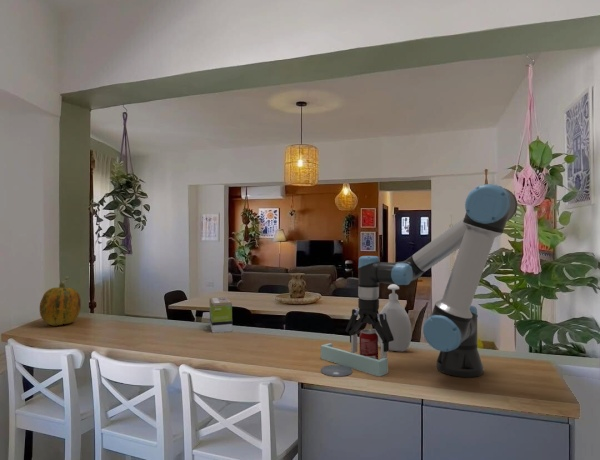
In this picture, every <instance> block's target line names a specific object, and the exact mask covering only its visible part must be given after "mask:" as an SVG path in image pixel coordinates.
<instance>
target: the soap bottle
mask: <svg viewBox="0 0 600 460" xmlns="http://www.w3.org/2000/svg"><path fill="white" fill-rule="evenodd" d="M387 289H388V290H391V293H389V294H388V302H387V303H385V305H384V306H383V307H382V309H381V310H380V311H379V312H378V313H379V314H383V313H385V314H386V319H387V322H388V325H389V328H390V330H391V333H392V336H393V338H394V340H393V341H391V342H389V350H388V351H390V352H397V353H398V352H400V353H401V352H402V353H403V352H406V351H407V350H408V348H409V346H410V345H411V342H412V341H411V340H412V337H413V336H412V325H411V319H410V315H409V314H408V313H407V311H406V309H405V308H404V307H403V305H402V304H401V303H400V302H399V294H397V293H396V290H400V286H399V285H397V284H389V285H388V286H387ZM378 320H379V322H380V319H379V317H378ZM380 325H381V323H380ZM375 331H376V330H375ZM376 334H377V335H378V345H379V346H380V347H381V342H383V341H382V339H381V338H380V336H379V334H378V333H377V331H376Z"/></svg>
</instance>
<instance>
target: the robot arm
mask: <svg viewBox="0 0 600 460" xmlns="http://www.w3.org/2000/svg"><path fill="white" fill-rule="evenodd" d="M464 202H465V203H464V205H465V206H464V207H465V215H464V218H462V219H461V220H458V222H457V223H455V224H454V225H452V226H451V227H449V228H448V229H447V230H445V231H444V232H443V233H441V234H440V235H439V236H437V237H436V238H434V239H433V240H431V241H430V242H429V243H427V244H426V245H424V246H423V247H422V248H420V249H419V250H418V251H416V252H415V253H414V254H412V255H411V256H410V257H408V258H406V260H403V261H397V262H388V261H387V262H383V261H380V257H379V256H377V255H362V256H360V257H359V258H358V267H357V270H358V274H357V275H358V276H357V277H358V287H357V288H358V289H357V291H358V292H357V293H358V294H357V296H358V300H357V301H358V305H357V306H358V308H352V309H351V316H350V318H349V321H348V324H347V325H346V328H345V331H344V332H346V333H347V334H349V343H350V346H351V347H350V352H351V353H357V352H358V334H357V332H358V330H359V329H360V328H361V327H362V325H363V324H368V325H371V326H372V327H373V329H375V331H377V333H378V334H379V336H380V338H381V339H382V341H383V342H381V346H380V359H382V358H388V352H389V351H390V350H389V342H391V341H393V340H394V338H393V336H392V333H391V330H390V328H389V325H388V322H387V319H386V314H385V313H383V314H379V313H380V312H379V309H380V299H379V297H380V284H389V285H391V284H395V285H397V286H403V285H404V286H408V285H410V283H411V282H412V281H415V280H418V279H420V277H421V276H422V275H423V274H424V273H426V271H428V270H429V269H431V268H432V267H434V266H435V265H437V264H438V263H440V262H441V261H443V260H444V259H446V258H448V257H449V256H451V254H453V253H454V252H456V251H458V252H457V255H456V257H455V260H454V264H453V266H452V270H451V272H450V275H449V278H448V281H447V284H446V286H445V289H444V292H443V296H442V298H441V299H440V300H437V301H436V302H435V304H434V306H433V309H432V312H431V315H430V316H429V317H428V318H427V319H426V320H425V322H424V323H423V326H422V327H423V328H422V334H423V336H424V338H425V340H426V343H427V344H428V345H429V346H430V347H432V348H433V349H434V350H437V351H439V353H438V356H437V359H436V369H437V370H438V371H439V372H441V373H443V374H446V375H449V376H452V377H453V376H454V377H459V378H475V377H480V376H482V375H483V374H484V364H483V362H482V358H481V357H480V353H479V351H478V317H479V314H478V309H477V307H476V306H475V305H472V304H473V303H472V302H473V300H474V297H475V294H476V292H477V289H478V287H479V284H480V281H481V278H482V275H483V272H484V270H485V267H486V264H487V261H488V258H489V256H490V252H491V250H492V247H493V244H494V241H495V238H497V237H500V236H502V235H503V233H504V230H505V227H506V224H507V222H508V221H510V220H511V219H512V218H513V217H514V216H515V214H516V213H517V210H518V200H517V197H516V196H515V194H514V193H513V192H512V191H511V190H509V189H508V188H505V187H502V186H501V185H498V184H492V183H490V184H489V183H488V184H486V183H485V184H481V185H479V186H476V187H474V188H473V189H472V190H471V191H470V192H469V193H468V195H467V196H466V198H465V201H464ZM358 316H359V317H358ZM378 317H379V319H380V322H379V320H378ZM357 318H358V319H357ZM380 323H381V325H380Z"/></svg>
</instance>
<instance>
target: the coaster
mask: <svg viewBox="0 0 600 460" xmlns="http://www.w3.org/2000/svg"><path fill="white" fill-rule="evenodd" d="M320 372H321V374H323V375H324V376H327V377H334V378H335V377H336V378H344V377H348V376H351V375H352V374H353V368H349V367H347V366H343V365H340V364H329V365H325V366H323V367H321V368H320Z"/></svg>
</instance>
